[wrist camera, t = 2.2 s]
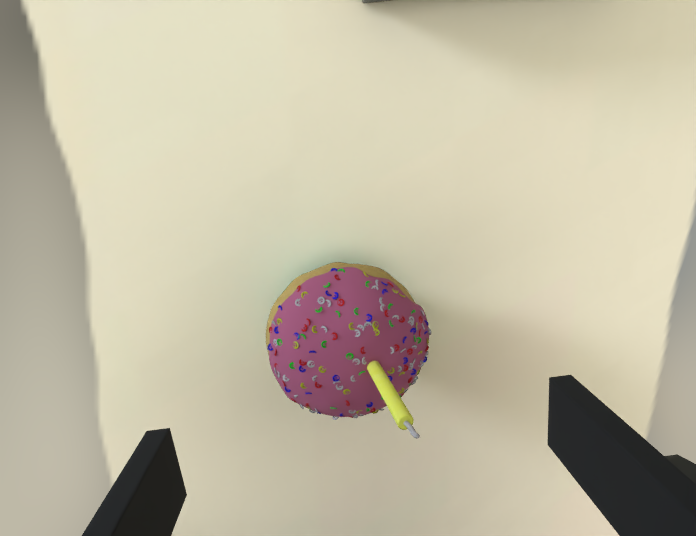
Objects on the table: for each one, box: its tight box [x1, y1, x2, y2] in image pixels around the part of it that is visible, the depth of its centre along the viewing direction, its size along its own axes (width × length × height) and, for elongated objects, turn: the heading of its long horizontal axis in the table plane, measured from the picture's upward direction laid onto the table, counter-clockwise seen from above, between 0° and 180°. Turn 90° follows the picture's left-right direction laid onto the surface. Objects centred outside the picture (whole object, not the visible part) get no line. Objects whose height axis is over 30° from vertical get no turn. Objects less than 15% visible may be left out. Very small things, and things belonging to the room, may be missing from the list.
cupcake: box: [266, 262, 431, 438], centre depth 21 cm, size 9×8×12 cm
